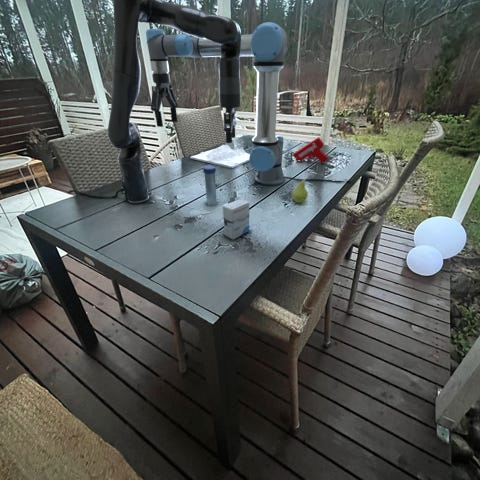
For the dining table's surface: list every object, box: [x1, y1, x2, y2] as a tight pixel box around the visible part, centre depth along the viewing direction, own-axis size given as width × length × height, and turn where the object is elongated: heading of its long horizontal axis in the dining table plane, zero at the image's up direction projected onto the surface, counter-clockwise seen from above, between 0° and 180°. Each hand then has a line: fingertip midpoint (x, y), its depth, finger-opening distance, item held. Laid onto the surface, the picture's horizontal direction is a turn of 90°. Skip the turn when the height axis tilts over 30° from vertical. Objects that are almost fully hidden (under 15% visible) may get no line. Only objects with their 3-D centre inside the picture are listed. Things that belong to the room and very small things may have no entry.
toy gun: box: [293, 136, 329, 165], centre depth 169 cm, size 18×4×15 cm
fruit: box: [291, 174, 311, 204], centre depth 118 cm, size 7×8×12 cm
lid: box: [202, 165, 217, 174], centre depth 113 cm, size 5×5×2 cm
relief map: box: [190, 144, 250, 169], centre depth 178 cm, size 27×35×5 cm
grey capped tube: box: [203, 172, 218, 206], centre depth 117 cm, size 4×4×16 cm
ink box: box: [222, 198, 250, 240], centre depth 96 cm, size 8×5×12 cm, turn 134°
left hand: (230, 140), depth 104 cm, fingers open, 8 cm apart
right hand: (167, 124), depth 132 cm, fingers open, 13 cm apart
